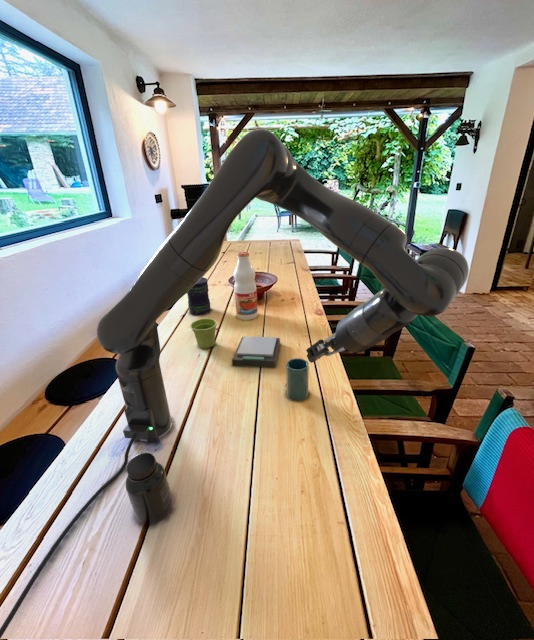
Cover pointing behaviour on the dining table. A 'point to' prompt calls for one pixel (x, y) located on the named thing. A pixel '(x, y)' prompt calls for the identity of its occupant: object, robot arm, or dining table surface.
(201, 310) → the storage jar
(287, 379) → the tumbler
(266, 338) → the scale
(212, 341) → the plant pot
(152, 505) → the supplement bottle
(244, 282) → the fruit juice
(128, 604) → the dining table surface
